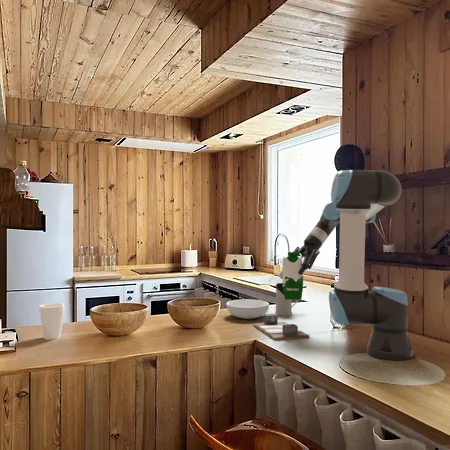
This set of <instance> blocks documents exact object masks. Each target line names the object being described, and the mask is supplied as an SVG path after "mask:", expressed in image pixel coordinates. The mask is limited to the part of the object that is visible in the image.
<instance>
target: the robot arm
mask: <svg viewBox="0 0 450 450" xmlns="http://www.w3.org/2000/svg"><path fill="white" fill-rule="evenodd" d="M401 195H402V185H401V182H400V180H399V179H398V178H397V177H396V176H395V175H394V174H392V172H390V171H387V170H382V169H381V170H380V169H376V170H371V169H369V170H366V169H365V170H364V169H346V170H344V169H343V170H340V171H338V172H336V173H335V176H334V177H333V181H332V186H331V190H330V202H328V203H326V205H324V207H323V209H322V213H321V216H320V219H319V220H318V222H317V223H316V224H315V225H314V227H313V228H312V230H310V232H309V233H308V235H307V236H306V238H305V239H304V240H303V246H301V247H300V246H297V247H296V248H295V249H294V250H293V251H292V252H298V256H302V261H303V262H302V264H301V265H302V266H300V267H299V268H298V269H297V271H296V272H295V273H294V275H293V276H292V278H293V280H294V281H295V282H297V280H298V279H299V278H300V276H301V275H302V274H303V275H304V273H305V271H307V270H310V269H312V267H313V266H314V263H315V261H316V259H317V257H318V256H319V255H320V253H321V252H320V249H321V247H322V246H323V245H324V244H325V242H326V240H327V239H328V238H329V236H330V235H331V234H332V232H333V231H334V229H336V227H337V226H338V225H339V254H338V255H339V256H338V258H339V259H338V261H339V262H338V280H337V282H336V283H335V284H334V285H333V288H334V289H333V290H332V289H331V290H330V291H329V293H328V302H329V309H330V314H331V317H332V319H333V321H334V322H335V323H336V324H341V325H371V326H372V330H371V334H370V337H369V340H368V343H367V345H366V352H367V354H368V355H370V356H372V357H373V358H379V359H383V360H389V361H390V360H391V361H404V360H409V359H412V358H413V353H414V351H413V347H412V344H411V340H410V338H409V335H408V311H409V310H408V309H409V307H408V306H409V303H408V295H407V293H406V292H405V291H403V290H400V289H395V288H391V287H387V286H385V287H384V286H372V290H369V286H368V285H367V283H365V257H366V256H365V253H366V251H365V249H366V224H371V223H375V221H376V218H377V213H378V212H380V211H381V210H382V209H384V208H385V207H390V206H392V205H394V204H395V203H396V202H397V201H398V200H399V199H400V197H401ZM282 269H283V267H282ZM282 269H281V270H280V271H279V272H278V274H277V276H278V277H279V278H280V279H281V280H283V270H282Z"/></svg>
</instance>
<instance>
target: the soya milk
mask: <svg viewBox="0 0 450 450" xmlns="http://www.w3.org/2000/svg"><path fill="white" fill-rule="evenodd" d="M281 263H282V268H283V269H281V270H283V279H282V283H283V291H284V297H285V299H287V300H292V301H293V300H294V301H297V300H300V301H301V300H302V298H303V291H304V273H303V274H302V275H301V276H300V278H299V279H298V280H297V282H295V281H294V280H293V278H292V276H293V275H294V273H295V272H296V271H297V269H298V268H299V267H300V266H302V265H301V264H303V258H302V255H301V256H298V252H293V251H289V252H287V255H284V256H283V257H282V262H281Z"/></svg>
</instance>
